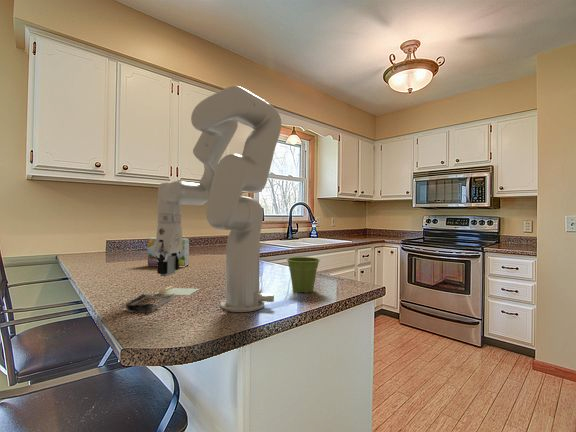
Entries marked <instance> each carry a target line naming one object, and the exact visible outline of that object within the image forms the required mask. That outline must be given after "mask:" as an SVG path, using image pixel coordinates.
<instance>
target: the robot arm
mask: <svg viewBox="0 0 576 432" xmlns="http://www.w3.org/2000/svg"><path fill="white" fill-rule="evenodd" d="M190 121H191V124H192V126H193V128H194V129H195V130H197V131H198V132H201V134H200V136H199V138H198V139H197V141H196V143H195V145H194V147H193V149H192V153H193V155H194V157H195V158H196V159H197V160H198V161H199V162H201V163H202V164H203V167H204V169H203V174H202V176H201V178H200V180H199V181H198V182H191V181H183V180H175V181H172V182H162V183H160V184H159V185H158V187H157V188H158V190H157V191H158V192H157V195H158V196H157V227H156V236H155V238H156V249H155V250H154V253H155V255H156V258H157V262H158V266H156V267H157V271H156V273H157V274H158V275H161V274H167V268H168V262H166V260H167V257H168V253H169V254H170V256H176V264H175V271H178V270H179V268H180V267H179V259H178V258H179V257H180V256H179V254H180V251H181V250H182V238H183V229H182V206H183V205H187V206H188V205H189V206H202V205H205V204H206V203H207V204H206V209H205V210H206V211H205V212H206V213H205V215H206V220H207V222H208V224H209V225H210V227H212V228H214V229H215V230H218V231H230V232H229V234H228V236H227V241H226V245H225V246H226V248H225V249H226V252H225V254H226V255H225V258H226V261H225V266H226V267H225V299H223V300H221V301H220V304H219V307H220V308H222V309H223V310H226V311H227V312H230V313H248V312H253V311H254V312H255V311H257V310H258V311H259V310H261V309H262V308H264V307H265V302H268V303H274V301H275V295H273V294H272V293H264V292H262V291H263V289H262V288H260V248H261V246H260V245H261V231H262V227H263V226H262V225H263V220H264V210H263V207H262V205H261V204H260V202H259V201H258V200H256V199H255V198H252V197H250V196H243V195H241V194H242V193H252V194H257V193H260V192H262V191H263V190H264V189H265V187H266V185H267V182H268V180H269V179H268V178H269V174H270V171H271V168H272V167H271V166H272V163H273V158H274V154H275V150H276V146H277V144H278V140H279V138H280V135H281V130H282V119H281V115H280V113H279V112H278V110H277V109H276V108H275V107H274V106H273V105H272V104H270V103H269V102H267V101H266V100H265V99H262V98H261V97H259V96H258V95H256V94H254V93H252V92H251V91H249V90H248V89H246V88H244V87H241V86H240V85H239V86H238V85H231V86H228V87H226V88H223V89H222V90H221V89H220V90H219V91H217V92H215V93H213V94H211V95H210V96H208V97H206V98H204V99H202V100H201V101H200V102H199V103H198V104H196V106H195V107H194V108H193V111H192V112H191V116H190ZM239 124H242V125H245V126H247V127H250V128H251V129H252V131H251V133H249V135H248V136H247V138H246V139H245V142H244V147H243V150H242V153H241V154H238V153H230V154H227V155H224V157H222V156H223V154H225V152H226V150H227V147H228V146H229V145H230V143H231V141H232V139H233V137H234V136H235V133H236V132H237V130H238V127H239ZM163 255H164V257H163Z"/></svg>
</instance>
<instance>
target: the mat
mask: <svg viewBox="0 0 576 432" xmlns="http://www.w3.org/2000/svg"><path fill="white" fill-rule="evenodd" d="M199 290H200V288H190V287H189V288H188V287H187V288H183V287H182V288H181V287H174V285H170V286H167V287H165V288H163V289H160V290H158V291H157V292H154V293H153V295H169V296H171V295H172V294H173V293H174V296H176V295H177V296H189V295H192V294H194V293H195V292H197V291H199Z"/></svg>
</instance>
